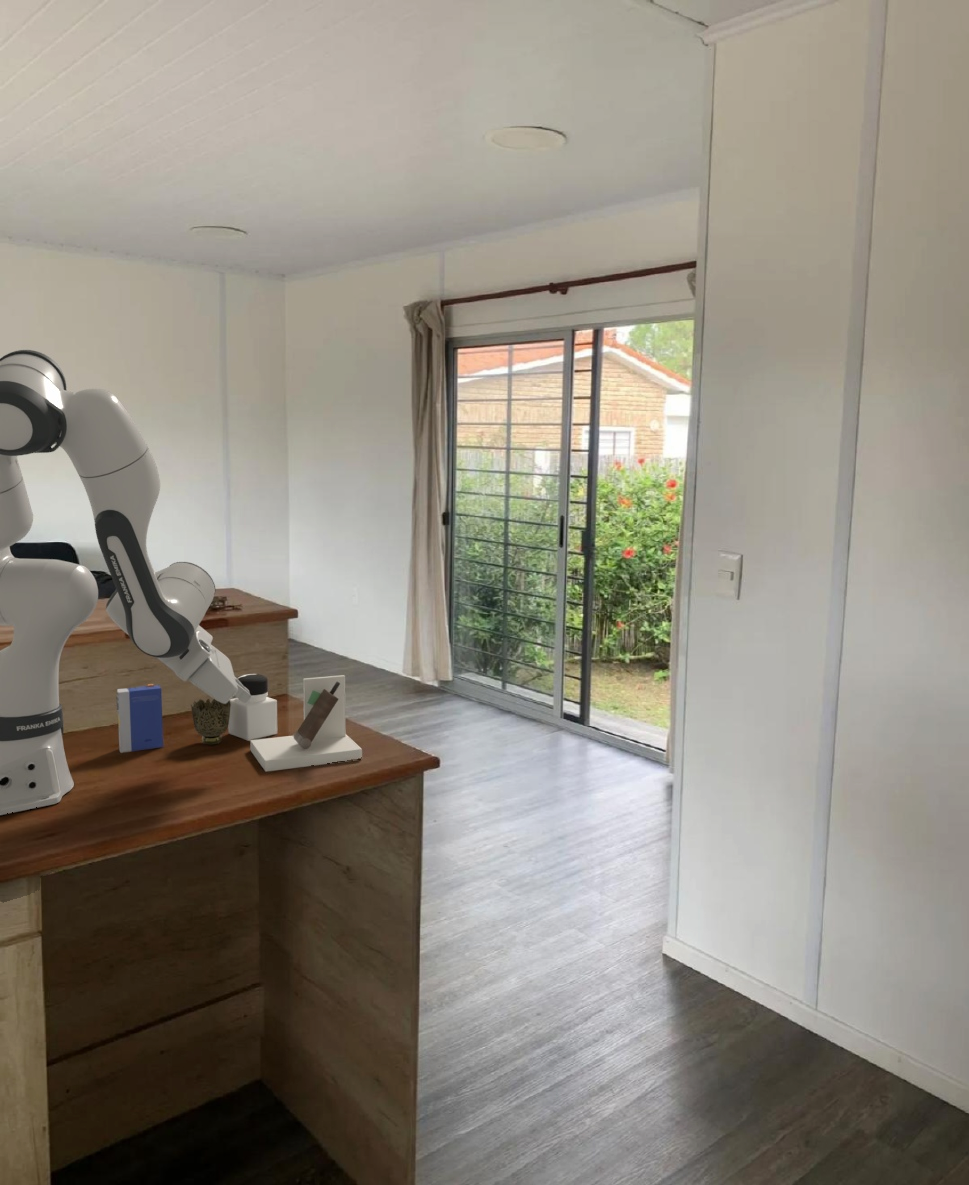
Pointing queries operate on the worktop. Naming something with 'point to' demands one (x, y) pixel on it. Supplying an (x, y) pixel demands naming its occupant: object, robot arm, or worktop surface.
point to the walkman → (140, 718)
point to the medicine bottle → (253, 710)
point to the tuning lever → (316, 717)
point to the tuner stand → (326, 743)
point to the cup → (211, 719)
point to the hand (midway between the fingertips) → (247, 697)
